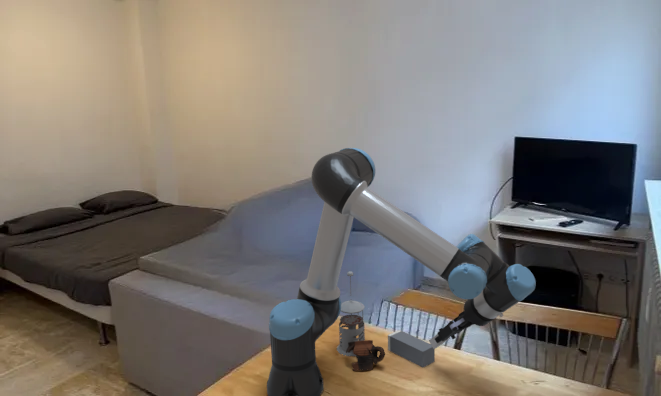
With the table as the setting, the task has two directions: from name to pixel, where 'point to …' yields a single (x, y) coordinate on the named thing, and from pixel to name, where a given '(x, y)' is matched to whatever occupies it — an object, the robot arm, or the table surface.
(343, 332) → the french press
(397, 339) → the grey rectangular block
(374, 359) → the pottery mug
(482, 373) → the table surface
